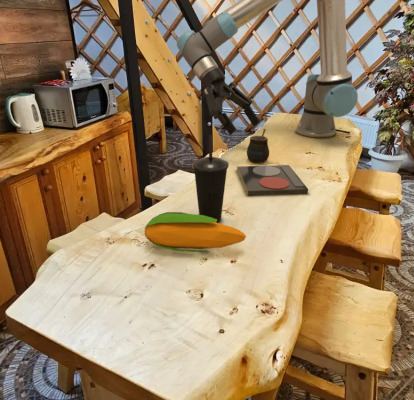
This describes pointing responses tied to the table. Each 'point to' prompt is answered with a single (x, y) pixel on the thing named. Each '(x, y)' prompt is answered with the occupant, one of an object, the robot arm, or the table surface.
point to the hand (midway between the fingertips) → (245, 128)
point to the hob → (270, 180)
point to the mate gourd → (258, 149)
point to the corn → (190, 232)
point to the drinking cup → (210, 184)
